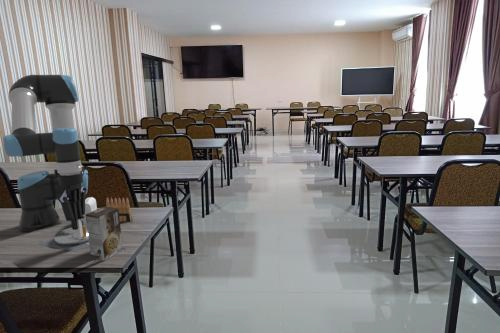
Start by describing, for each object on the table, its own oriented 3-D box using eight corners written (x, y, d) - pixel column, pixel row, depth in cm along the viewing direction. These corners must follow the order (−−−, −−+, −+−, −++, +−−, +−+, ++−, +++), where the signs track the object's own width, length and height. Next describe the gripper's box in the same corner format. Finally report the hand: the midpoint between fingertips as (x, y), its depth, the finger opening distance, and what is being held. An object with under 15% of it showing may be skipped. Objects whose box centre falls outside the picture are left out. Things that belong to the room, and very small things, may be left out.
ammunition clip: (132, 223, 150) (130, 196, 147) (130, 224, 148) (128, 198, 146) (109, 223, 151) (106, 196, 148) (107, 224, 149) (104, 198, 146)
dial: (48, 239, 129) (45, 224, 128) (84, 228, 140) (82, 214, 139) (66, 249, 121) (64, 233, 120) (103, 235, 132) (101, 221, 131)
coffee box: (109, 247, 126) (105, 205, 122) (123, 250, 123) (119, 207, 120) (90, 258, 117) (84, 213, 114) (104, 261, 115) (99, 216, 112)
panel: (39, 248, 127) (38, 243, 126) (77, 231, 142) (76, 227, 142) (75, 255, 120) (74, 250, 120) (111, 236, 135) (110, 232, 135)
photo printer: (89, 222, 152) (86, 195, 150) (99, 221, 153) (96, 194, 150) (82, 230, 142) (79, 202, 140) (93, 230, 143) (90, 201, 140)
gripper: (68, 177, 112) (77, 244, 117) (91, 169, 124) (98, 230, 129) (47, 177, 113) (56, 244, 117) (71, 168, 125) (79, 229, 130)
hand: (78, 236), depth 123 cm, fingers closed
